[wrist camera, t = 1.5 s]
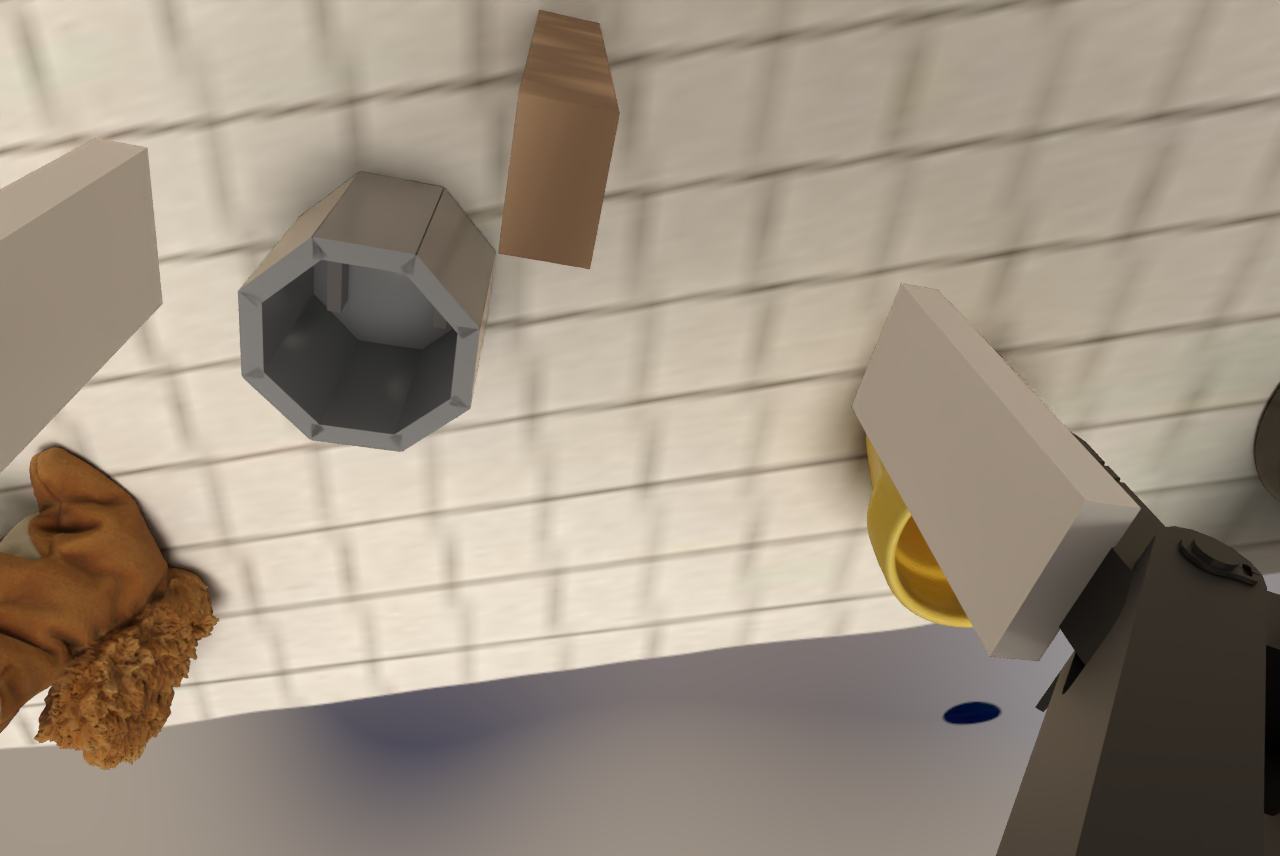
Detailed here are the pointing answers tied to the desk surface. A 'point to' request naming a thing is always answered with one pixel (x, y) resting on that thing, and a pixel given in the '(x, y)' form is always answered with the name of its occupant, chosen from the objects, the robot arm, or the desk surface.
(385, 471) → the desk surface
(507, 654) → the desk surface
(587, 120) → the tan wooden beam
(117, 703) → the stuffed squirrel
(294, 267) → the jar
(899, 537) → the plant pot
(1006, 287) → the desk surface
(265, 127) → the desk surface
